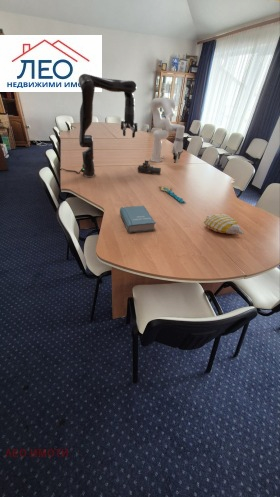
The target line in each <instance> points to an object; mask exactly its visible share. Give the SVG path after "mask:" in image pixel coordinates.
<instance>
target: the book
mask: <svg viewBox="0 0 280 497" xmlns="http://www.w3.org/2000/svg"><path fill="white" fill-rule="evenodd" d="M119 214H120V217H121V219H122V221H123V223H124V226H125V227H126V230H127V232H128V233H141V232H151V231H155V230H156V229H155V224H156V221H155V220H154V218H153V217H152V215H151V214H150V212H149V211H148V209H147V207H146V206H145V205H135V206H134V205H133V206H124V207H123V206H122V207H120V208H119Z"/></svg>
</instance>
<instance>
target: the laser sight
mask: <svg viewBox="0 0 280 497" xmlns="http://www.w3.org/2000/svg"><path fill="white" fill-rule="evenodd" d="M149 162H150V160H144V162H143V163H142V164H141V165H140V164H138V166H137V172H139V173H143V174H149V175H150V174H154V175H161V171H162V168H161V167H155V166H152V165H151V164H149Z"/></svg>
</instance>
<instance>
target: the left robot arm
mask: <svg viewBox="0 0 280 497" xmlns="http://www.w3.org/2000/svg"><path fill="white" fill-rule="evenodd" d="M78 85H79V87H80V90H81V98H82V100H81V105H80V108H79V138H78V142H79V143H78V144H79V146H80V147H81V148H87V149H85V150H83V151H82V153H81V155H82V168H80V170H79V171H77V170H72V169H71V170H70V169H66V168H62V167H61V168H59V171H62V170H63V171H65V172H72V173H73V172H74V173H76V174H81V173H82V174H83V176H84V177H85V178H94V177H95V175H96V174H95V159H94V138H93V136H92V135H91V134H86V132H87V131H88V129H89V128H90V126H91V125H92V123H93V114H94V112H93V111H94V110H93V109H94V104H93V103H94V95H95V89H96V88H99V89H102V90H105V91H107V92H111V93H124V115H123V116H124V118H123V119H124V120H121V121H120V130H121V131H122V136H123V137H126V134H127V132H126V131H127V129H130V130H131V131H132V132H131V137H132V138H133V139H134V138H135V137H136V132H138V122H135V97H134V93H135V92H136V90H137V83H136V82H135V81H134V80H121V79H112V78H104V77H99V76H96V75H92V74H89V73H88V74H87V73H82V74H81V75H80V76H79V77H78Z"/></svg>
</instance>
